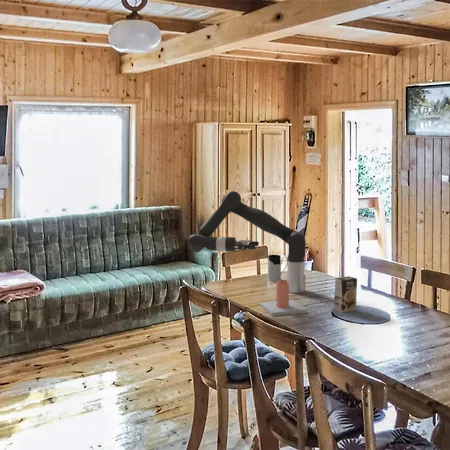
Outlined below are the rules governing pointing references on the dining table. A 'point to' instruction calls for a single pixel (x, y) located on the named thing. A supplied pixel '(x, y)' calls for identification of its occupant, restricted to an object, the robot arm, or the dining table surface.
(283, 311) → the post board
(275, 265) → the glass holder
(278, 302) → the sleeve
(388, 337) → the dining table surface
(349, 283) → the coffee box
